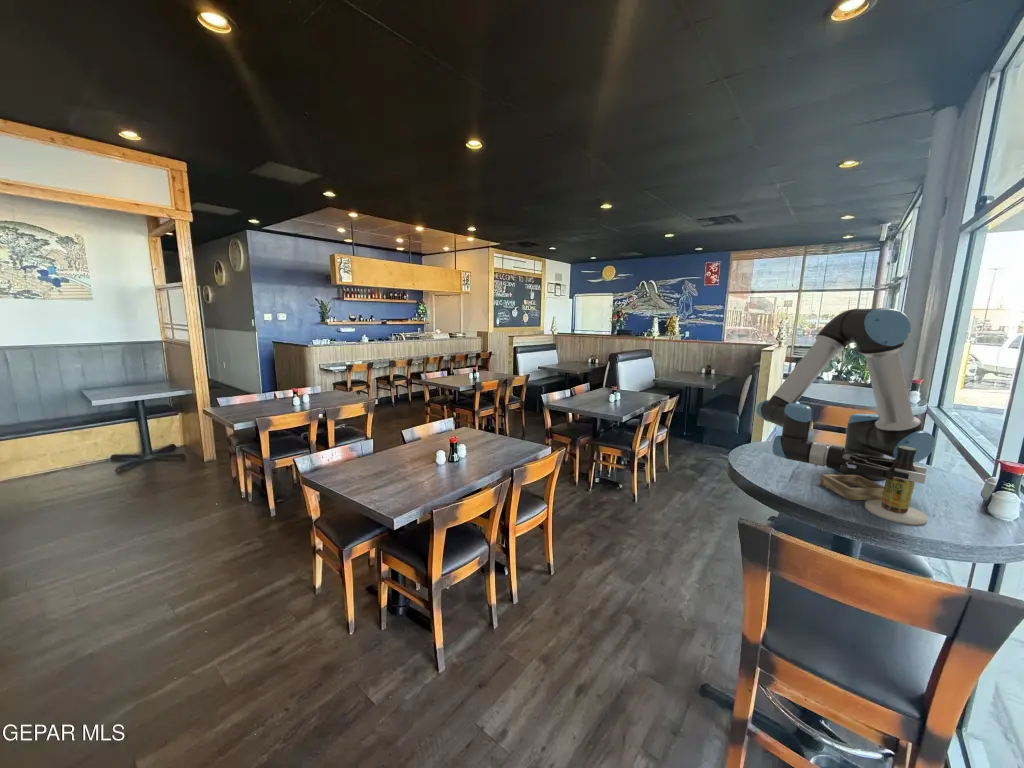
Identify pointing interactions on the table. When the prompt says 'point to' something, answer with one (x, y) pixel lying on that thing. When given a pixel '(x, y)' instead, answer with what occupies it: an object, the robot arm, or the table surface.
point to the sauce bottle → (900, 483)
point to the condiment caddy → (842, 483)
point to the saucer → (896, 514)
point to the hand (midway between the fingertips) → (925, 475)
